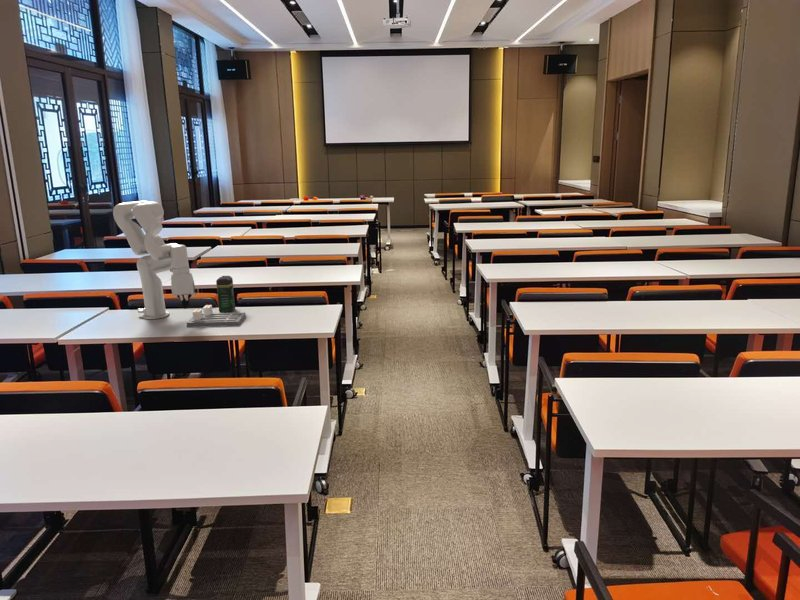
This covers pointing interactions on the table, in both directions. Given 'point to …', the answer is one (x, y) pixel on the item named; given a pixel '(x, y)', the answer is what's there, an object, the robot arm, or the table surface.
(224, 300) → the coffee jar
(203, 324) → the console
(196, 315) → the fader cap
